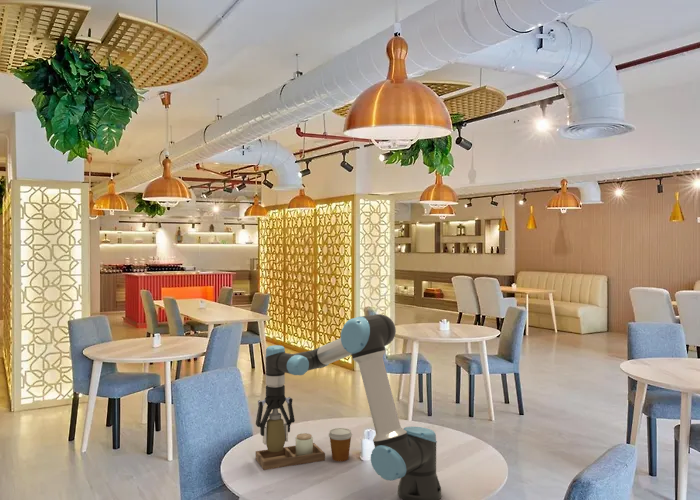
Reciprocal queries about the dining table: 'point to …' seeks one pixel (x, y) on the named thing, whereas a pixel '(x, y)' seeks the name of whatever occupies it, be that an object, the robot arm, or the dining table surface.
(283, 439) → the squeeze bottle
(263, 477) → the dining table surface
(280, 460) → the caddy
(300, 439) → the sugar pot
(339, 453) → the disposable coffee cup
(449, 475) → the dining table surface
